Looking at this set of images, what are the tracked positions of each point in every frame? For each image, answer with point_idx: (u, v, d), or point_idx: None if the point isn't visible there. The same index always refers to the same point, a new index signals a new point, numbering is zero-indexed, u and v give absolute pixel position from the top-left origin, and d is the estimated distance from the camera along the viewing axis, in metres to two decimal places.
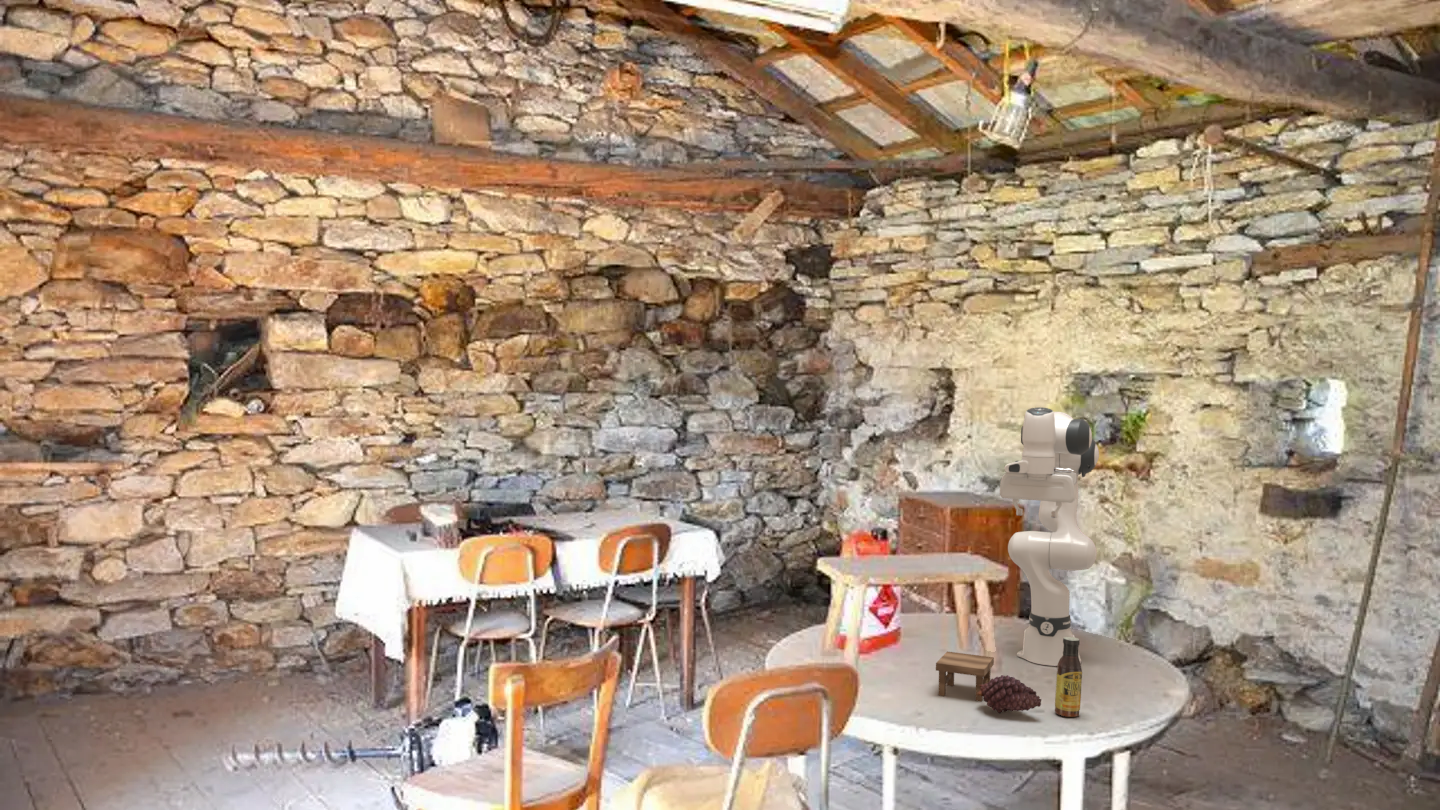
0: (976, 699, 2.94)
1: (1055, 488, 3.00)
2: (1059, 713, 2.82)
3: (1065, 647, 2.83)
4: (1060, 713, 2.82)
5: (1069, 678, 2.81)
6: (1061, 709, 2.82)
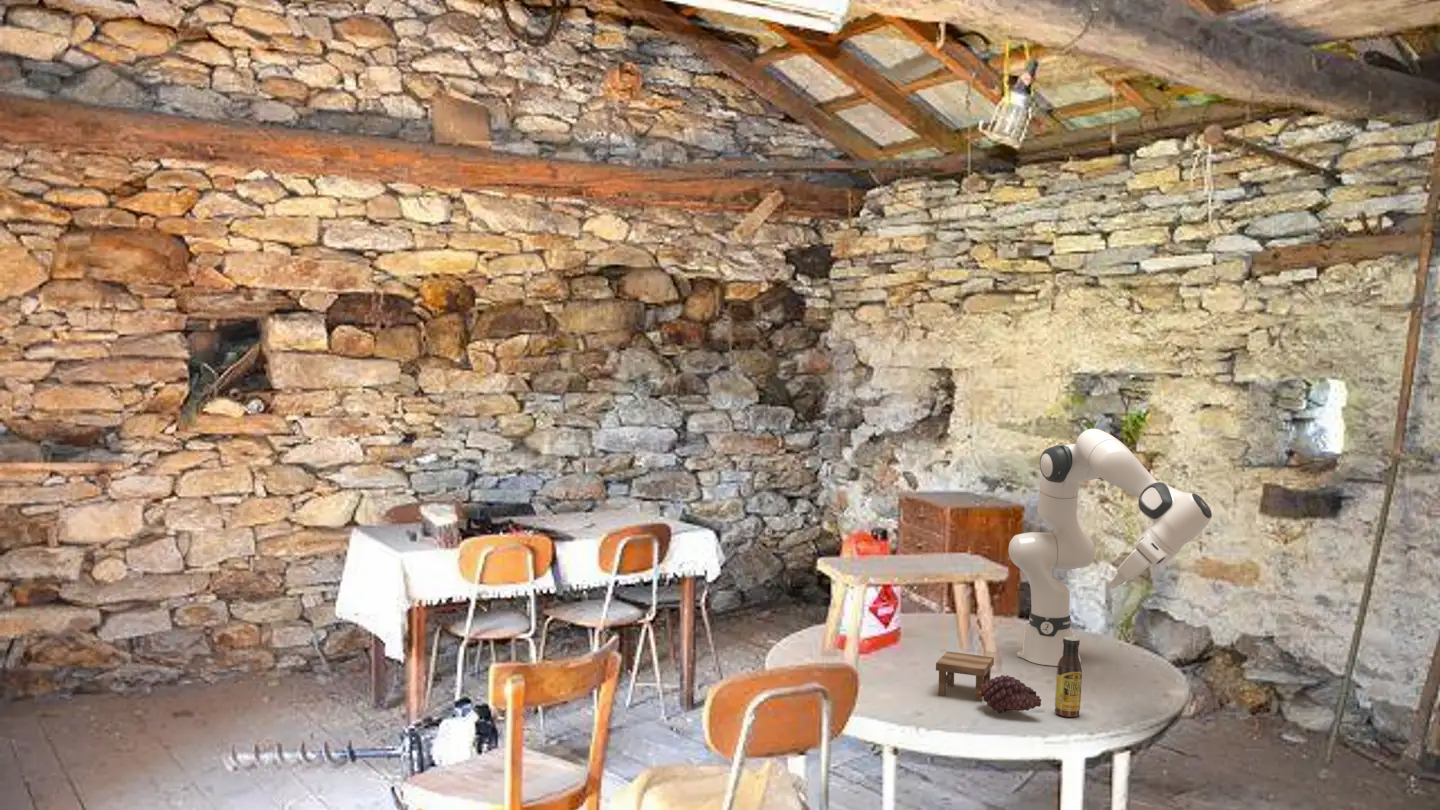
0: (976, 699, 2.94)
1: None
2: (1059, 713, 2.82)
3: (1065, 647, 2.83)
4: (1060, 713, 2.82)
5: (1069, 678, 2.81)
6: (1061, 709, 2.82)
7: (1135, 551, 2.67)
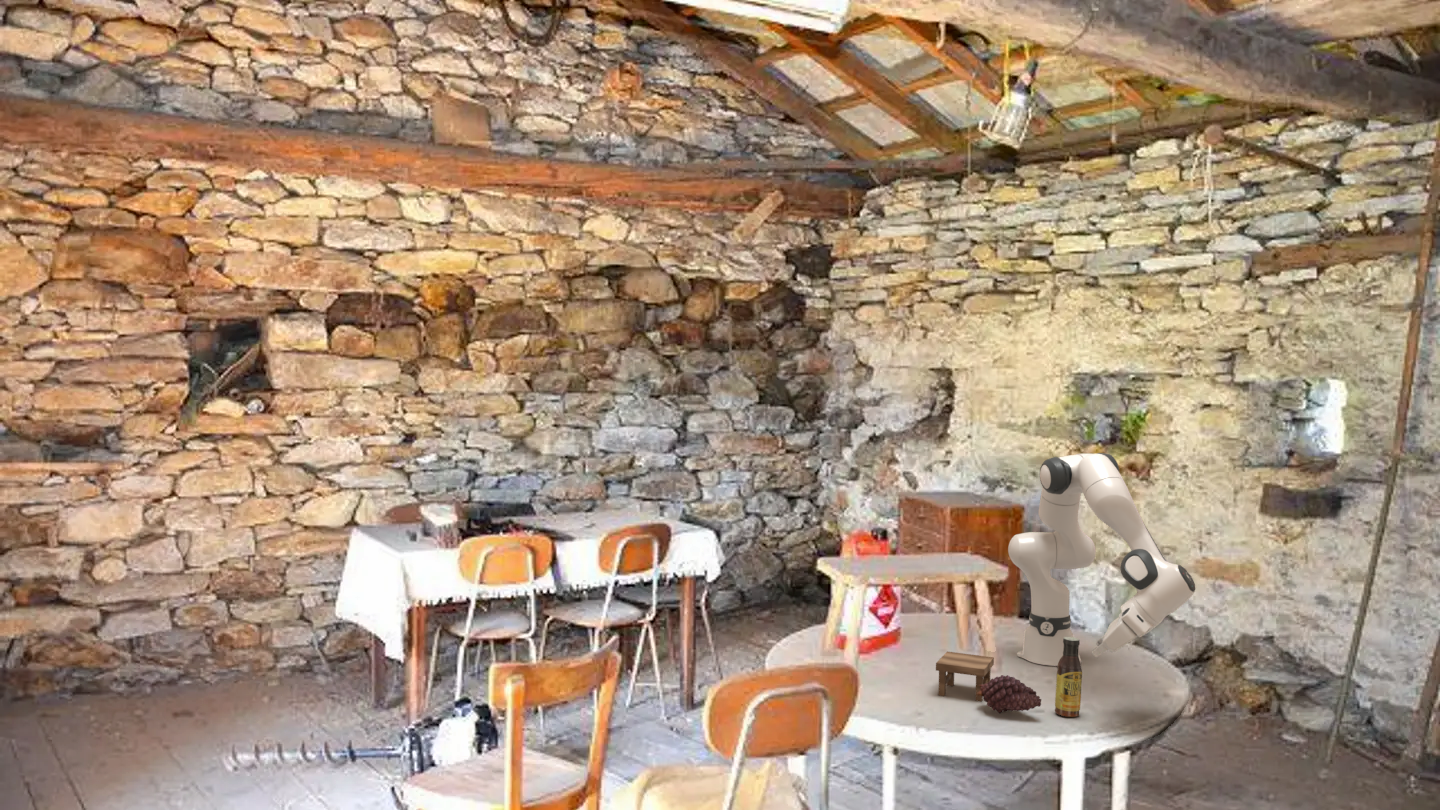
0: (976, 699, 2.94)
1: None
2: (1059, 713, 2.82)
3: (1065, 647, 2.83)
4: (1060, 713, 2.82)
5: (1069, 678, 2.81)
6: (1061, 709, 2.82)
7: (1121, 624, 2.69)
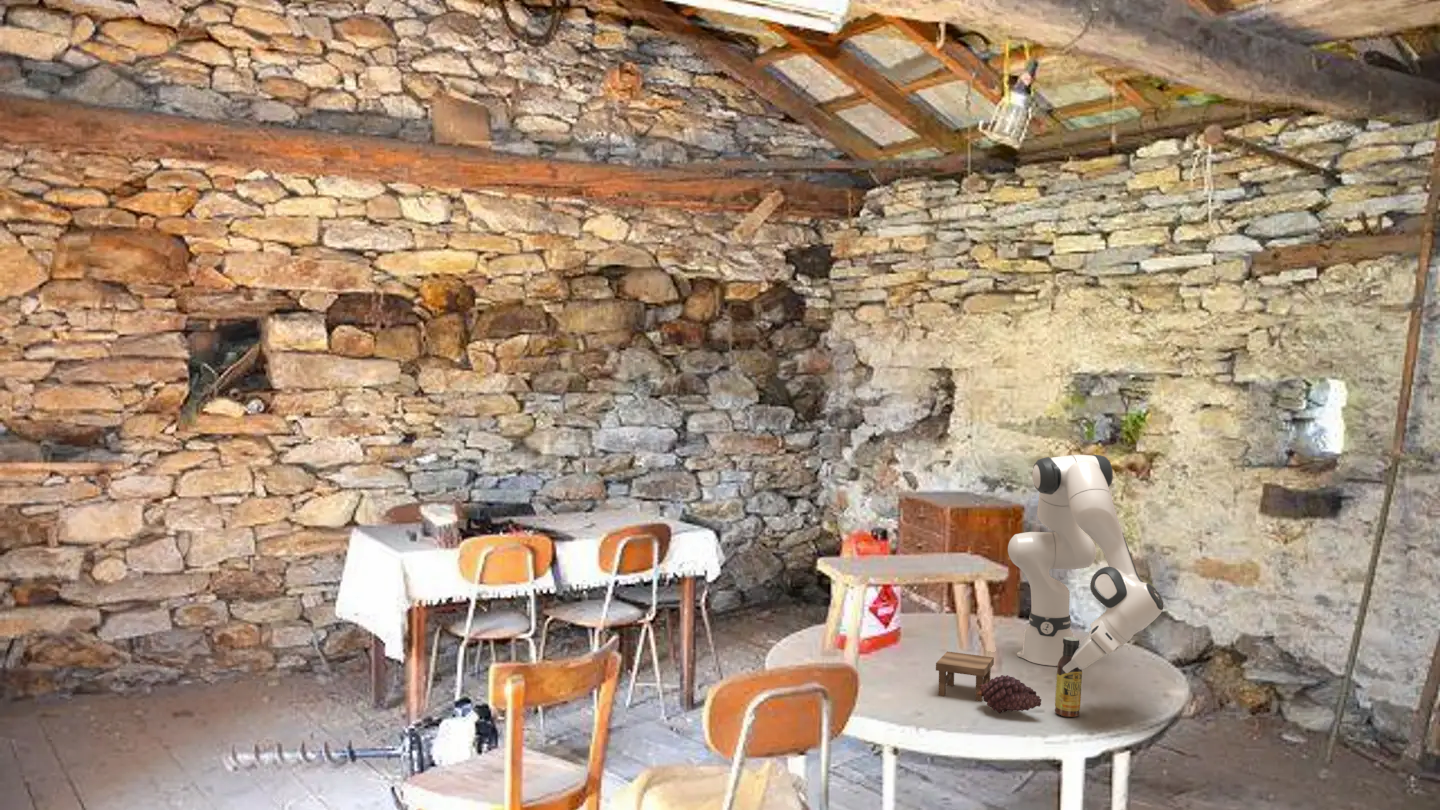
0: (976, 699, 2.94)
1: None
2: (1059, 713, 2.82)
3: (1065, 647, 2.82)
4: (1060, 713, 2.82)
5: (1069, 678, 2.81)
6: (1061, 709, 2.82)
7: (1090, 641, 2.72)
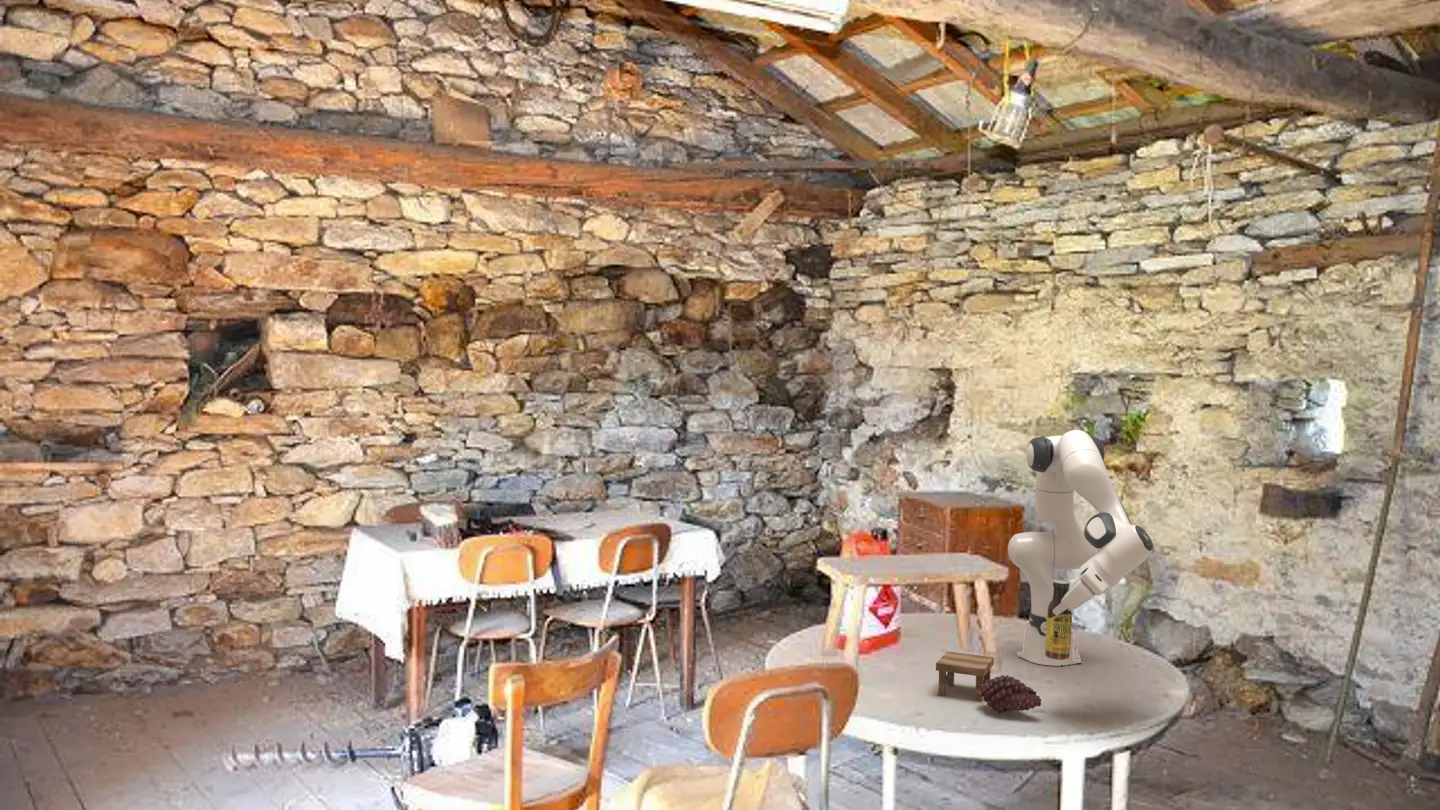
0: (976, 699, 2.94)
1: None
2: (1049, 656, 2.84)
3: (1055, 590, 2.84)
4: (1050, 656, 2.83)
5: (1059, 621, 2.82)
6: (1051, 652, 2.83)
7: (1080, 583, 2.74)
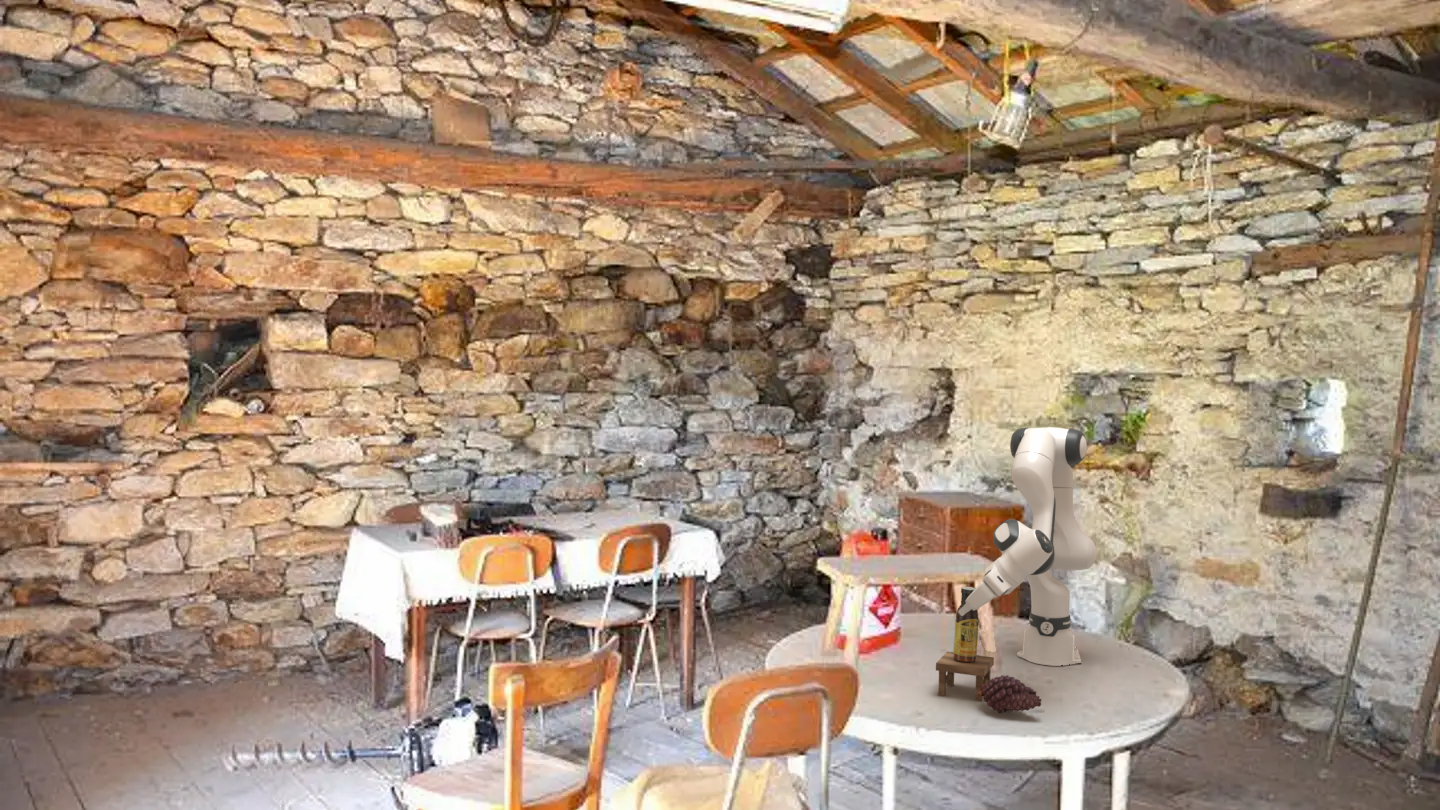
0: (976, 699, 2.94)
1: None
2: (957, 658, 2.99)
3: (963, 596, 2.99)
4: (958, 658, 2.99)
5: (966, 625, 2.97)
6: (958, 655, 2.99)
7: (982, 584, 2.89)
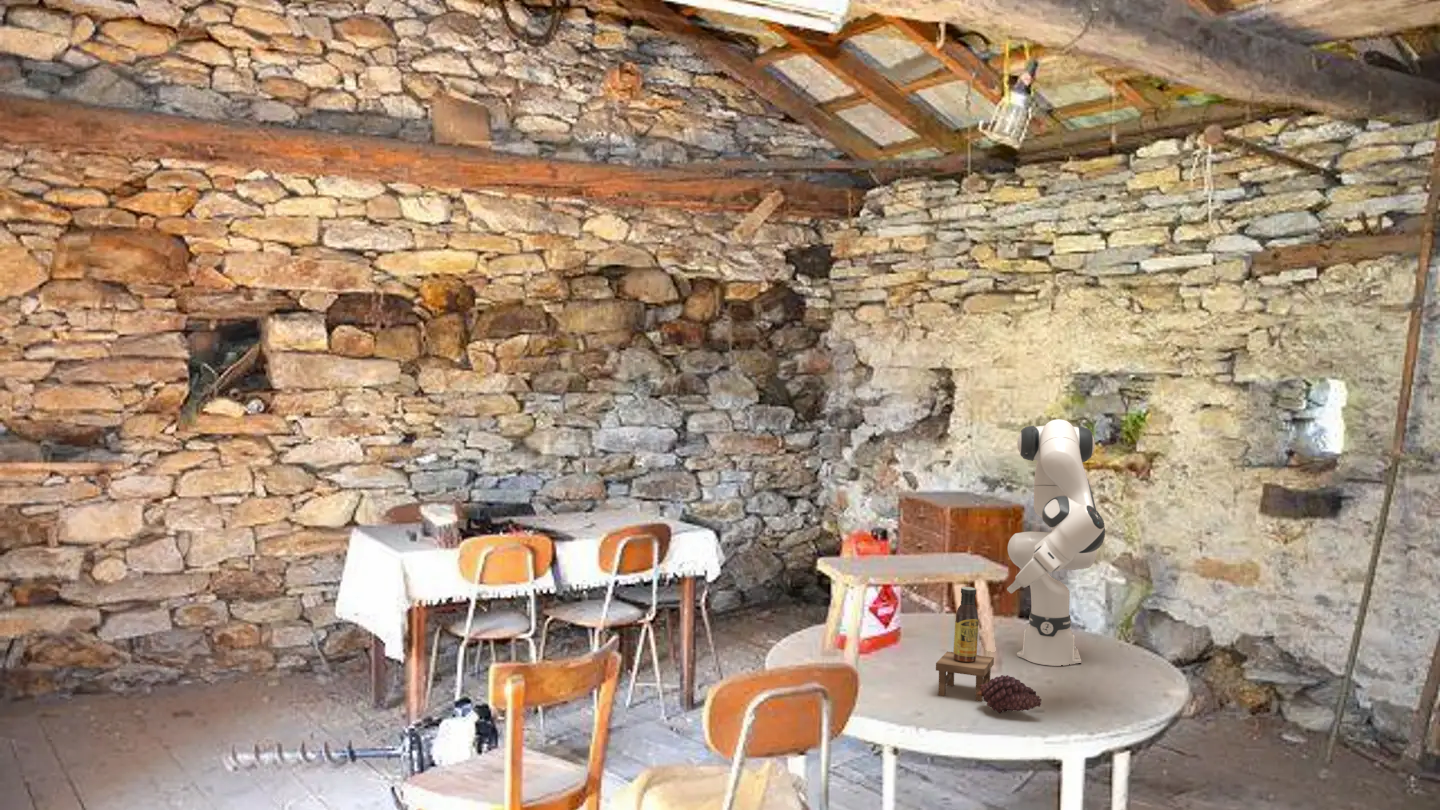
0: (976, 699, 2.94)
1: None
2: (957, 658, 2.99)
3: (962, 596, 2.99)
4: (957, 658, 2.99)
5: (965, 625, 2.97)
6: (958, 655, 2.99)
7: (1033, 560, 2.83)
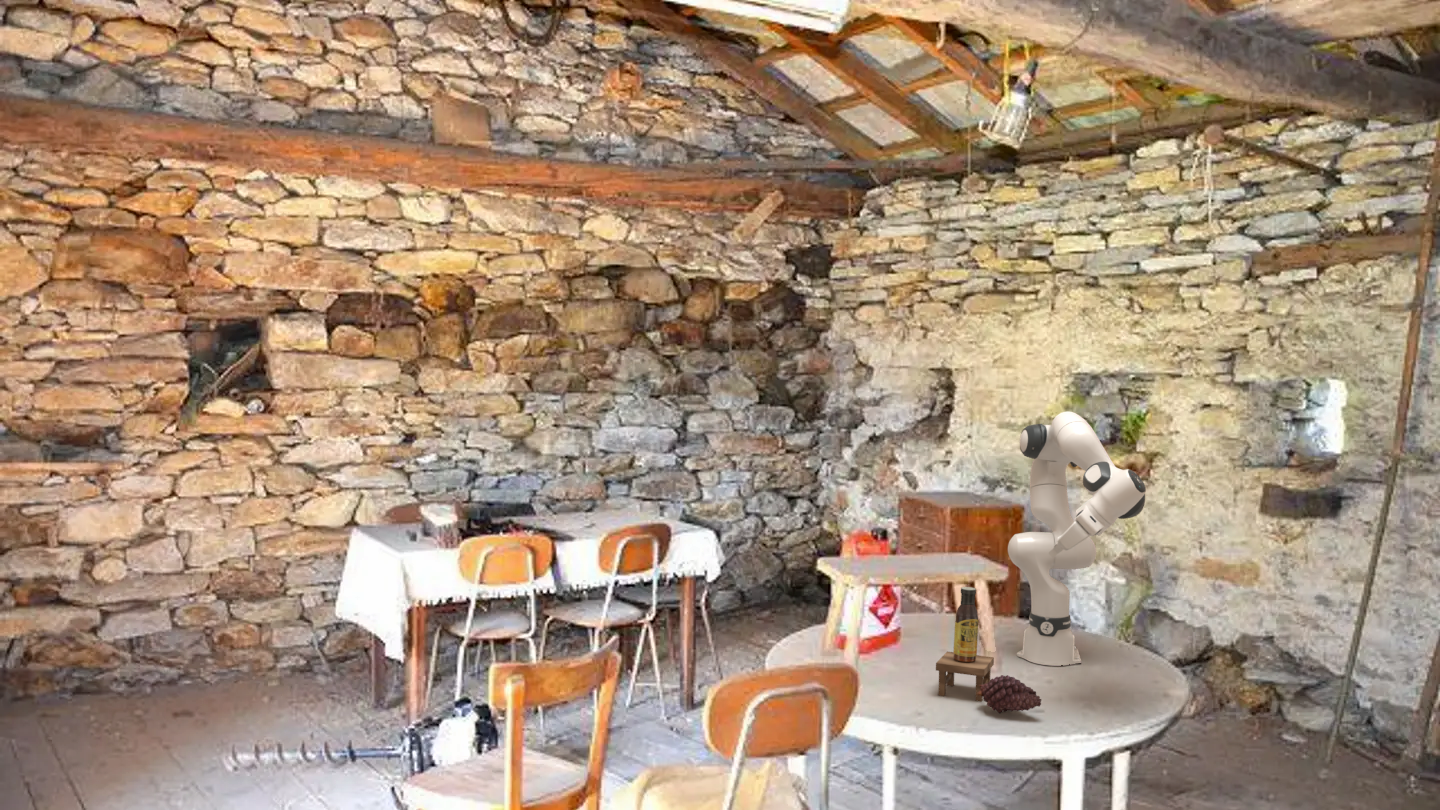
0: (976, 699, 2.94)
1: None
2: (957, 659, 2.99)
3: (962, 596, 2.99)
4: (957, 659, 2.99)
5: (965, 625, 2.97)
6: (958, 655, 2.99)
7: (1075, 523, 2.86)
